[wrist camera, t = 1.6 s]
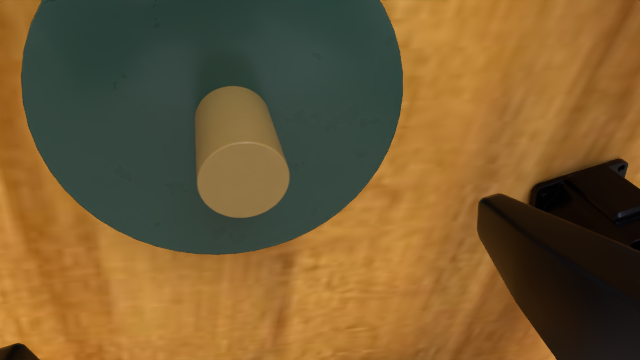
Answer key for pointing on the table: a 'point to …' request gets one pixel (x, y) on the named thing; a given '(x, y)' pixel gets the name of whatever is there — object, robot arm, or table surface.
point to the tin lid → (212, 113)
